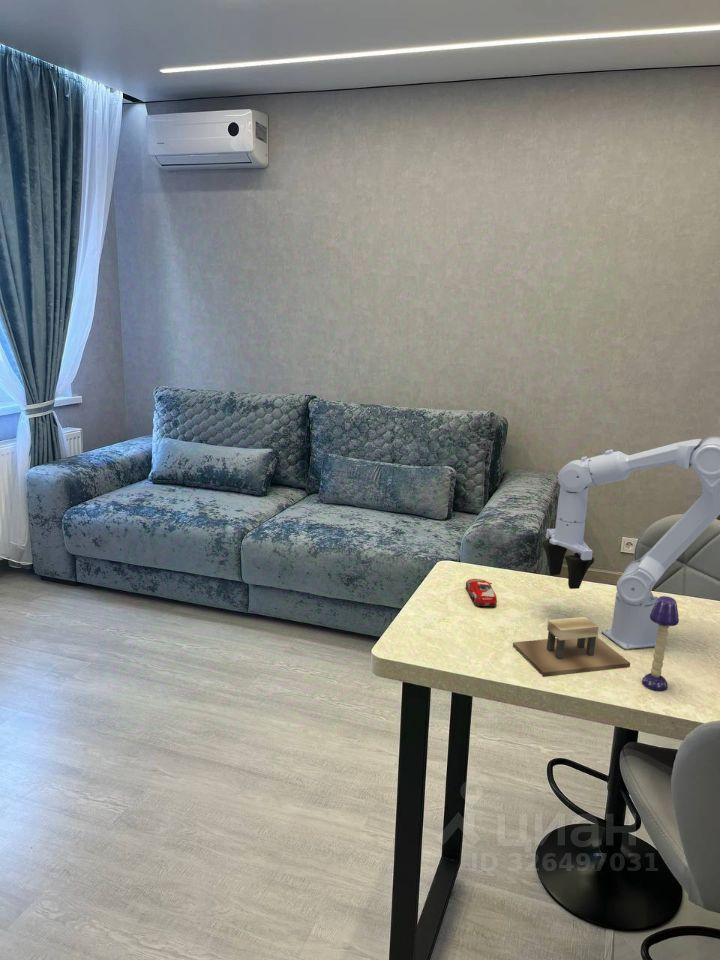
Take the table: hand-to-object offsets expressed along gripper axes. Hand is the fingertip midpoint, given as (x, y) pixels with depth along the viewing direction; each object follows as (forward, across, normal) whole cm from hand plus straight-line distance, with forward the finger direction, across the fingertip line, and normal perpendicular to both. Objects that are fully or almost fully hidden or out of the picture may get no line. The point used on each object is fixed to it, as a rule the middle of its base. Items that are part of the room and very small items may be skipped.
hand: (564, 581), depth 148 cm
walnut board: (+9, +14, -6) cm, 18 cm away
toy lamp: (+10, +27, +3) cm, 29 cm away
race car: (+10, -16, -11) cm, 22 cm away
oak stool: (+9, +14, -6) cm, 17 cm away
